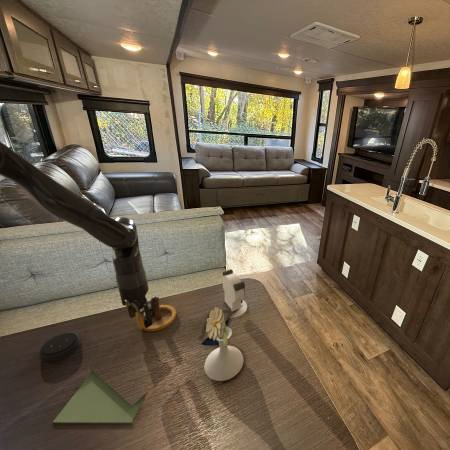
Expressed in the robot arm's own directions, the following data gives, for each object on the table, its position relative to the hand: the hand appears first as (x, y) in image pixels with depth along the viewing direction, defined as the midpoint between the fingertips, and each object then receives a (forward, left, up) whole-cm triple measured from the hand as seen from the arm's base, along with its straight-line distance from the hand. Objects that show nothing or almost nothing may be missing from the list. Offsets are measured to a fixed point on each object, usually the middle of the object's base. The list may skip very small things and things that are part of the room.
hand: (141, 321), depth 82 cm
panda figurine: (+17, +25, -5) cm, 31 cm away
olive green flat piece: (+12, -17, -5) cm, 22 cm away
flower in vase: (+32, +4, -5) cm, 33 cm away
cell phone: (+19, +14, -5) cm, 25 cm away
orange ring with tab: (0, +6, -4) cm, 7 cm away
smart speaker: (-13, -17, -5) cm, 22 cm away
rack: (0, +6, -5) cm, 8 cm away
